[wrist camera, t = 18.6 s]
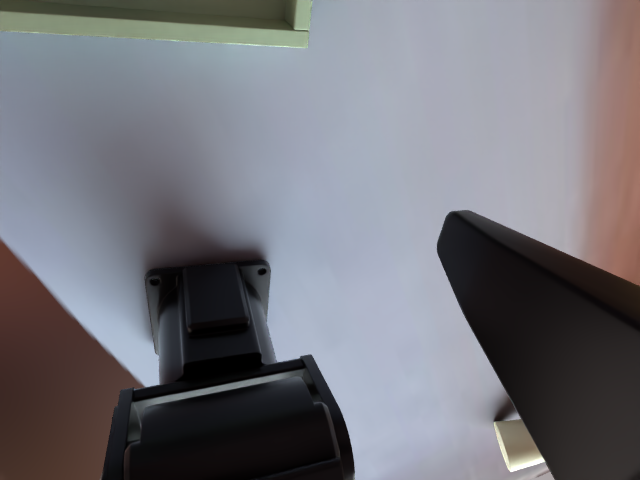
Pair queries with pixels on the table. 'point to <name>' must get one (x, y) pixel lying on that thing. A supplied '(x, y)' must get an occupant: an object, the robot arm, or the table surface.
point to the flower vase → (517, 445)
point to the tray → (166, 20)
